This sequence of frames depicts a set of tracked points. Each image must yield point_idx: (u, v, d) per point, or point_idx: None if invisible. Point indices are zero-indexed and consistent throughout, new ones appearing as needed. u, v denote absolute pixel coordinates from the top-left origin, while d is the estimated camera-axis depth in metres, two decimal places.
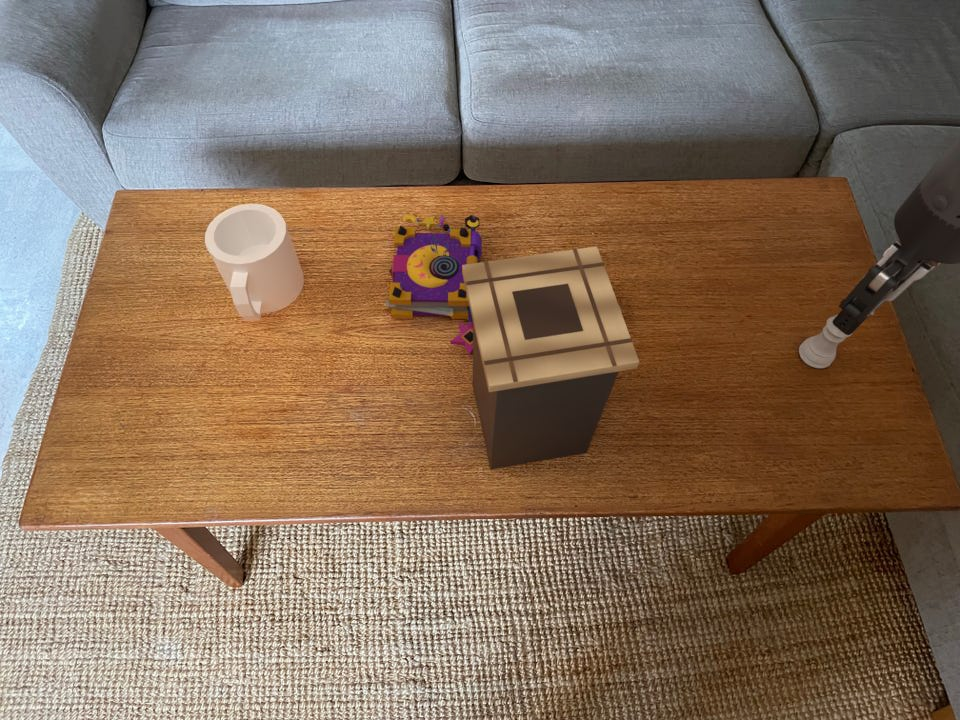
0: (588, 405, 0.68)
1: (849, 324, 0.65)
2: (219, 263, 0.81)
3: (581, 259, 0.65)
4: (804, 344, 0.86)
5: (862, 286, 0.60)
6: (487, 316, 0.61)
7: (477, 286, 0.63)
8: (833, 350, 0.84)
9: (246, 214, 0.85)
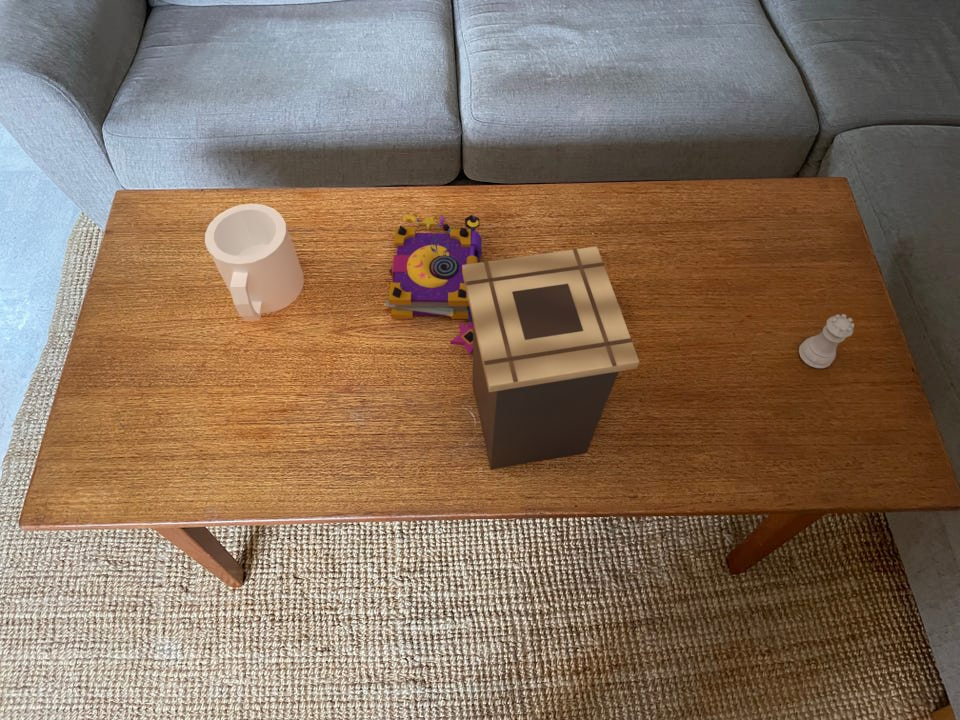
0: (588, 405, 0.68)
1: None
2: (219, 263, 0.81)
3: (581, 259, 0.65)
4: (804, 344, 0.86)
5: None
6: (487, 316, 0.61)
7: (477, 286, 0.63)
8: (833, 350, 0.84)
9: (246, 214, 0.85)
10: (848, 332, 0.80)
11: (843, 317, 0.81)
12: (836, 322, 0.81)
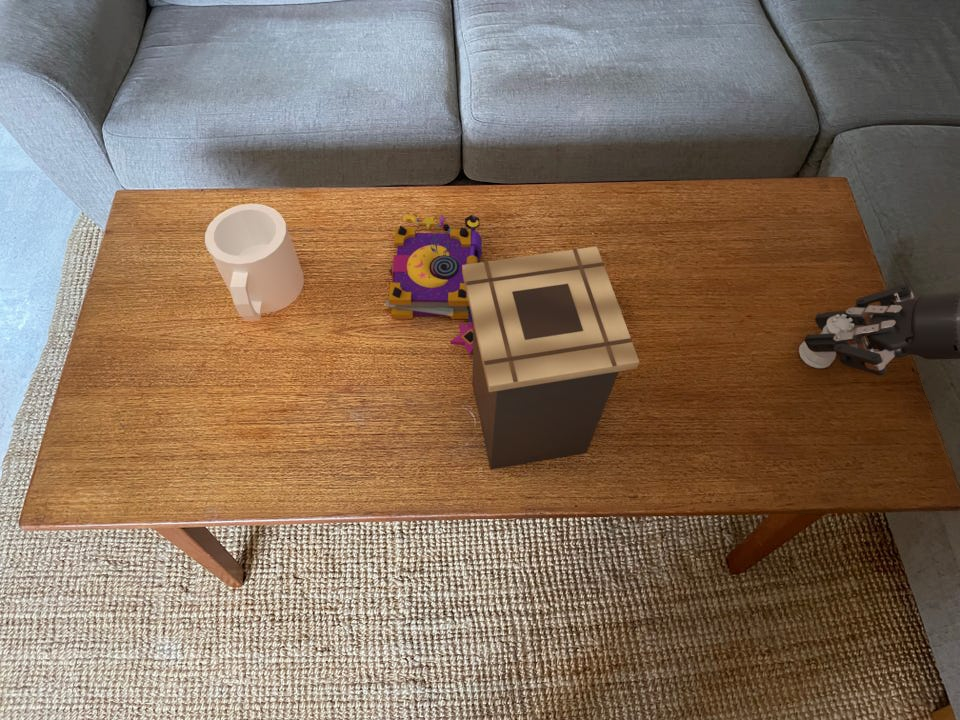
0: (588, 405, 0.68)
1: (835, 313, 0.84)
2: (219, 263, 0.81)
3: (581, 259, 0.65)
4: (804, 344, 0.86)
5: None
6: (487, 316, 0.61)
7: (477, 286, 0.63)
8: None
9: (246, 214, 0.85)
10: None
11: (843, 317, 0.81)
12: (836, 322, 0.81)
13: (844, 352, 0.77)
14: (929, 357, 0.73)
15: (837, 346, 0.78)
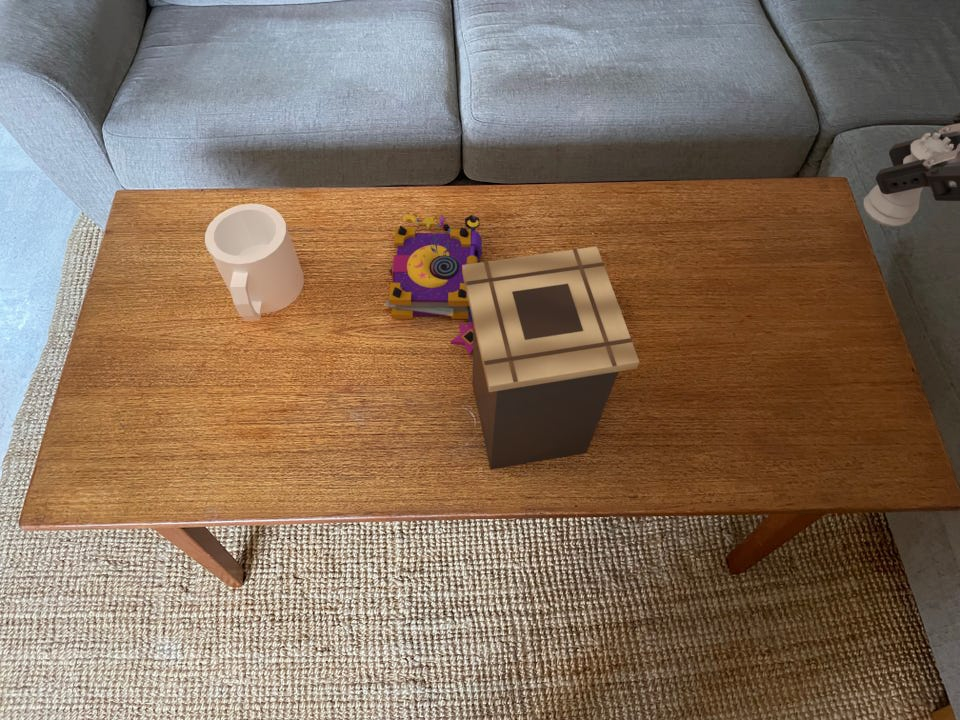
0: (588, 405, 0.68)
1: None
2: (219, 263, 0.81)
3: (581, 259, 0.65)
4: (872, 192, 0.60)
5: None
6: (487, 316, 0.61)
7: (477, 286, 0.63)
8: (917, 194, 0.57)
9: (246, 214, 0.85)
10: None
11: (936, 137, 0.55)
12: (926, 143, 0.54)
13: (945, 175, 0.50)
14: None
15: (931, 170, 0.52)
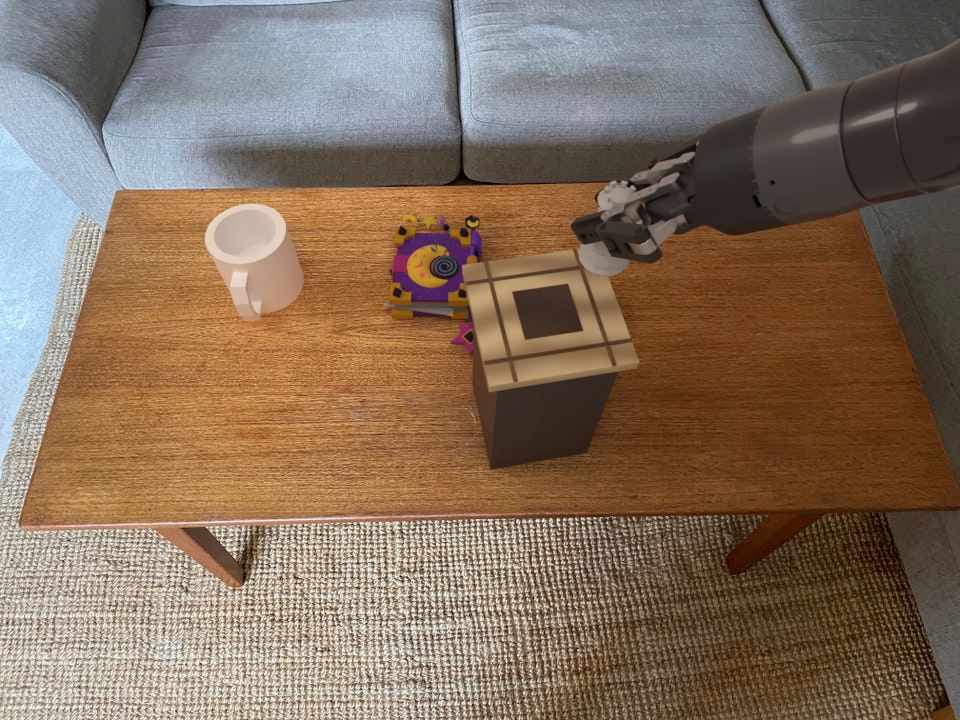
0: (588, 405, 0.68)
1: None
2: (219, 263, 0.81)
3: None
4: None
5: None
6: (487, 316, 0.61)
7: (477, 286, 0.63)
8: None
9: (246, 214, 0.85)
10: None
11: (623, 185, 0.51)
12: (610, 193, 0.50)
13: (605, 232, 0.46)
14: (727, 228, 0.42)
15: (600, 225, 0.48)
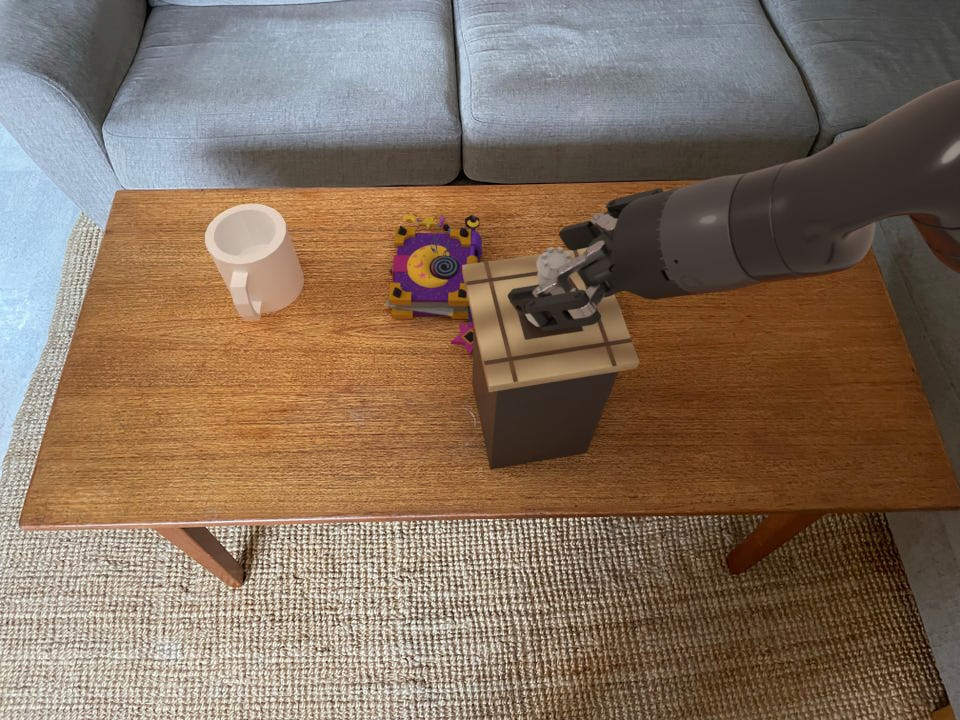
0: (588, 405, 0.68)
1: None
2: (219, 263, 0.81)
3: None
4: None
5: None
6: (487, 316, 0.61)
7: (477, 286, 0.63)
8: None
9: (246, 214, 0.85)
10: None
11: (559, 251, 0.55)
12: (548, 258, 0.55)
13: (539, 306, 0.49)
14: (644, 294, 0.47)
15: (529, 303, 0.50)
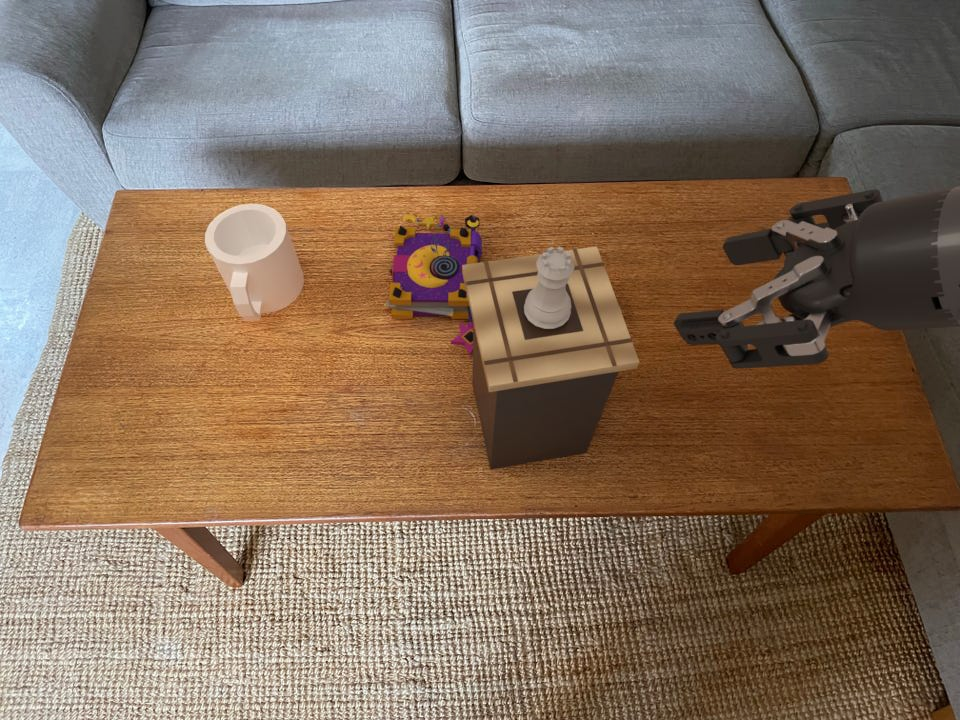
0: (588, 405, 0.68)
1: None
2: (219, 263, 0.81)
3: (581, 259, 0.65)
4: (528, 295, 0.60)
5: None
6: (487, 316, 0.61)
7: (477, 286, 0.63)
8: (559, 302, 0.58)
9: (246, 214, 0.85)
10: (562, 272, 0.55)
11: (559, 251, 0.55)
12: (548, 258, 0.55)
13: (741, 339, 0.39)
14: (886, 325, 0.37)
15: (721, 334, 0.40)
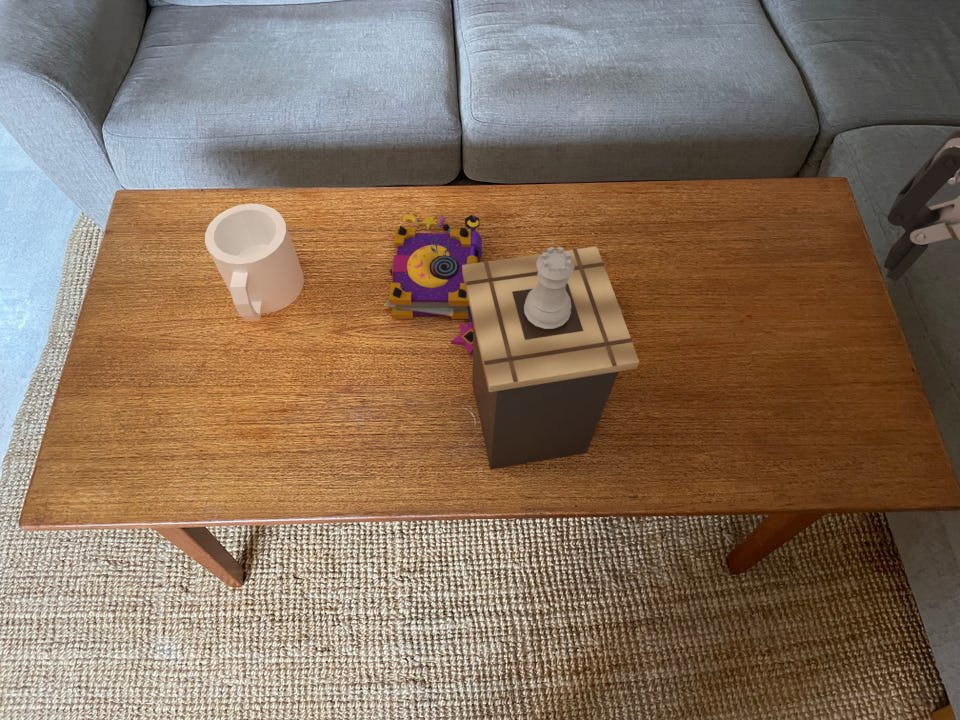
0: (588, 405, 0.68)
1: (894, 249, 0.44)
2: (219, 263, 0.81)
3: (581, 259, 0.65)
4: (528, 295, 0.60)
5: (930, 159, 0.40)
6: (487, 316, 0.61)
7: (477, 286, 0.63)
8: (559, 302, 0.58)
9: (246, 214, 0.85)
10: (562, 272, 0.55)
11: (559, 251, 0.55)
12: (548, 258, 0.55)
13: None
14: None
15: None
